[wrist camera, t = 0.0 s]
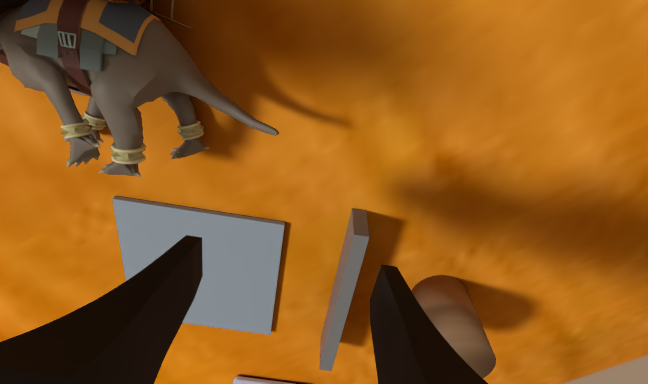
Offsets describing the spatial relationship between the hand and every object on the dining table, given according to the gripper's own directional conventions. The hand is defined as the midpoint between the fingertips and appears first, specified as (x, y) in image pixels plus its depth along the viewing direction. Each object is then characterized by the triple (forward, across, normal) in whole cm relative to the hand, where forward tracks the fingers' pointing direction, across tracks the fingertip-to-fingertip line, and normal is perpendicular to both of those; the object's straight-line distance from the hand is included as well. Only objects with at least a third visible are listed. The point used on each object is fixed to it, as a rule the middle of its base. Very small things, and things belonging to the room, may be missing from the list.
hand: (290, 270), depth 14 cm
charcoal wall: (+10, -4, +10) cm, 15 cm away
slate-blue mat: (+10, +7, +11) cm, 16 cm away
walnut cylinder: (+10, -12, +10) cm, 19 cm away
